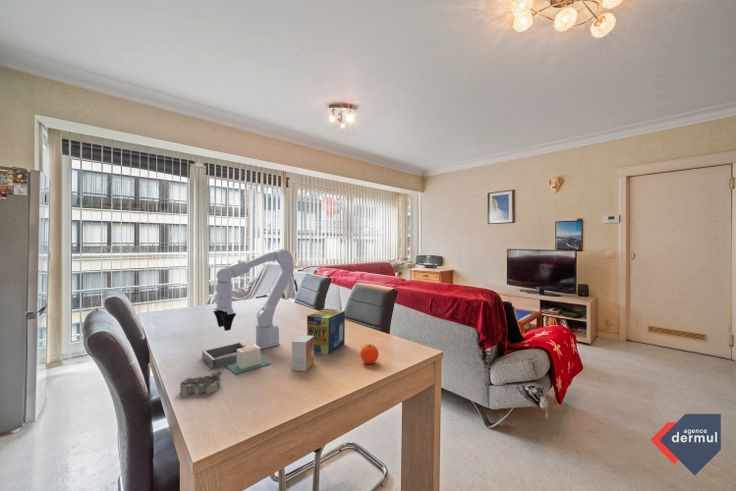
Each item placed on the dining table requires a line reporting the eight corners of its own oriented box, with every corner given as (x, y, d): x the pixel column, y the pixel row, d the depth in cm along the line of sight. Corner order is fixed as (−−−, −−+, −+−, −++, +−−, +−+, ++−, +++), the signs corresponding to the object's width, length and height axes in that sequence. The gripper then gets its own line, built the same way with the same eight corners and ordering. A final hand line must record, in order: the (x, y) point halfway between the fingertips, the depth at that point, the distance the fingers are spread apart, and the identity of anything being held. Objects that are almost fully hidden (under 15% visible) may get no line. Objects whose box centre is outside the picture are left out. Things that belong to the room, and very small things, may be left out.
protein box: (306, 352, 123) (306, 315, 123) (325, 341, 137) (325, 308, 137) (328, 356, 119) (328, 317, 119) (345, 344, 134) (345, 310, 134)
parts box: (236, 365, 109) (236, 348, 109) (255, 360, 114) (255, 344, 114) (241, 369, 106) (241, 351, 106) (260, 363, 110) (260, 347, 110)
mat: (260, 357, 117) (260, 356, 117) (270, 364, 111) (270, 363, 111) (226, 367, 108) (226, 365, 108) (235, 374, 102) (235, 373, 102)
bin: (239, 349, 127) (239, 342, 127) (253, 357, 117) (253, 350, 117) (202, 358, 117) (202, 350, 117) (213, 368, 107) (213, 360, 107)
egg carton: (223, 383, 96) (223, 371, 96) (213, 395, 88) (213, 381, 88) (189, 384, 95) (189, 371, 95) (176, 396, 88) (176, 382, 88)
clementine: (354, 363, 112) (354, 344, 112) (365, 357, 118) (365, 339, 118) (371, 368, 107) (371, 348, 107) (382, 362, 113) (382, 343, 113)
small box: (305, 372, 104) (306, 342, 104) (291, 370, 105) (291, 341, 105) (314, 363, 112) (314, 335, 112) (300, 362, 113) (300, 334, 113)
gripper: (208, 295, 128) (208, 326, 128) (220, 299, 117) (220, 333, 117) (226, 293, 133) (225, 323, 133) (238, 297, 122) (238, 330, 122)
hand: (224, 328), depth 125 cm, fingers open, 7 cm apart
